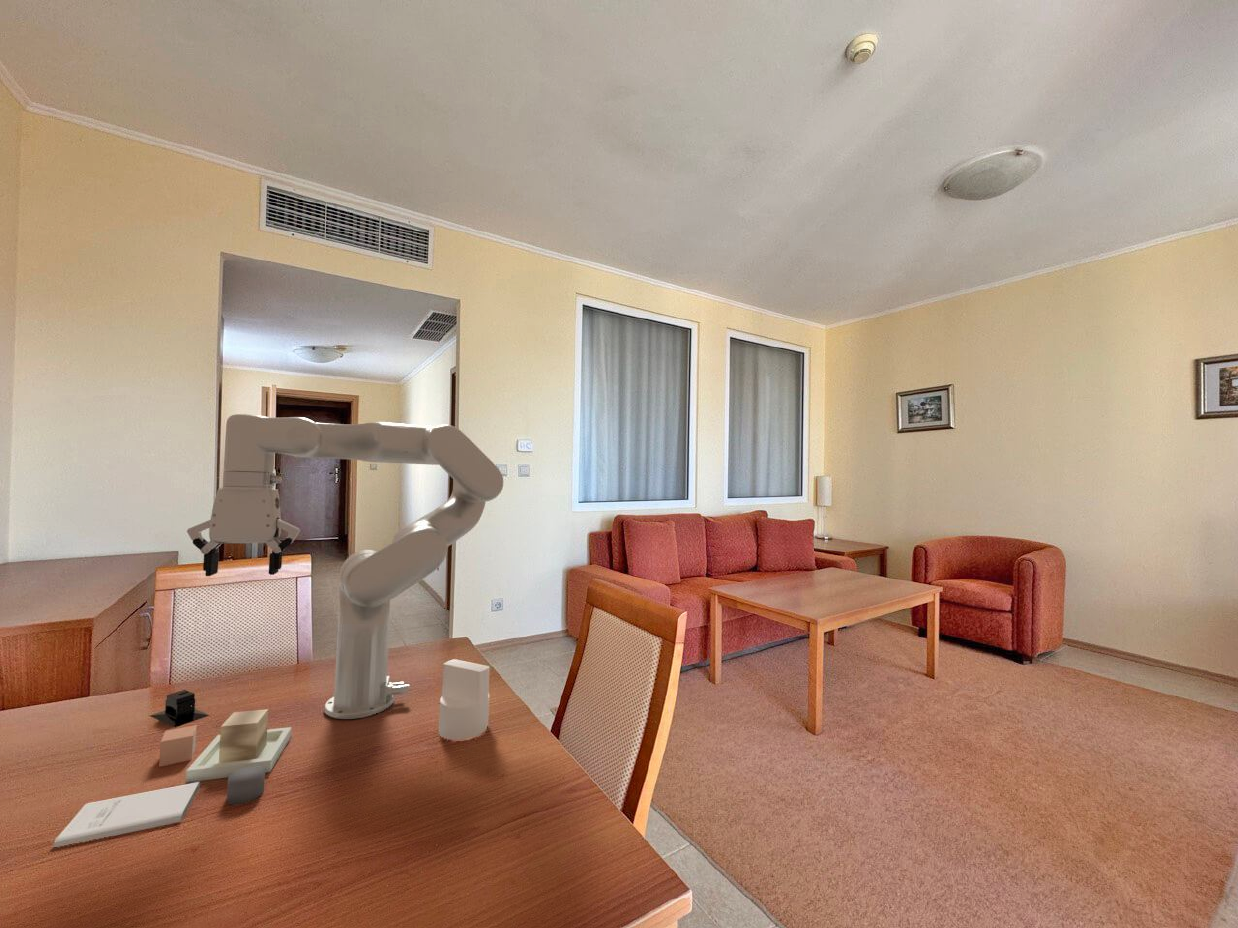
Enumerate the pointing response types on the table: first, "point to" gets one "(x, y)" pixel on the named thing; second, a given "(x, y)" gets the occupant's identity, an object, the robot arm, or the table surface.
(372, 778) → the table surface
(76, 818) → the external hard drive
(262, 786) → the grey rounded lump
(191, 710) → the black boxy piece
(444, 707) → the white rounded pedestal block
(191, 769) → the tray
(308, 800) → the table surface
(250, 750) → the beech block
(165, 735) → the terracotta cube
